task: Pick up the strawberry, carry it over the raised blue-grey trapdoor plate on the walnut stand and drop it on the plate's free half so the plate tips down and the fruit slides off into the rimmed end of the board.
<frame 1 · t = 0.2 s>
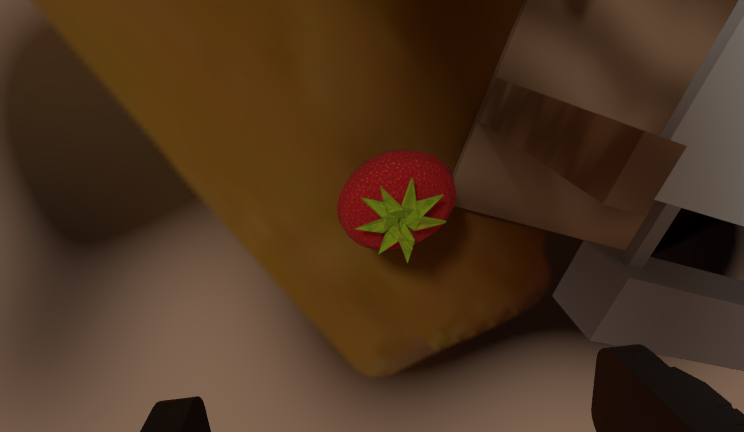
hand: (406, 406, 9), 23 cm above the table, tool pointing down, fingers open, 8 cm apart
strawberry: (383, 170, 32), on the table
stand: (626, 65, 30), on the table
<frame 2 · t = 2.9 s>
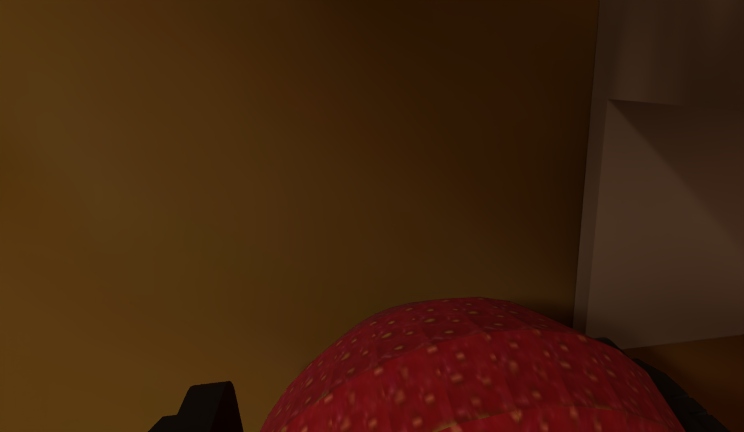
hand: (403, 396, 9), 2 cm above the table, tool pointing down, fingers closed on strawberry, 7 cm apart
strawberry: (388, 326, 12), on the table, touching gripper
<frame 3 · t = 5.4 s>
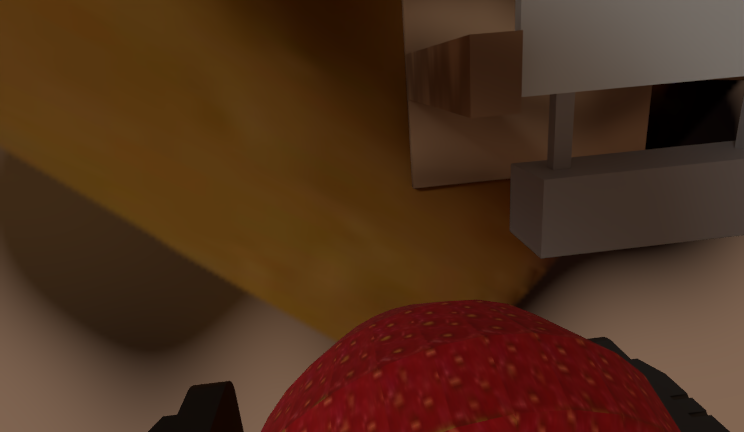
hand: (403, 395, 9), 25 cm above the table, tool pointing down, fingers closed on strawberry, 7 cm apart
strawberry: (387, 327, 12), point 22 cm above the table, touching gripper
trapdoor: (673, 3, 18), point 14 cm above the table, hinge at 0.0°
when the fingers open (19 cm above the table, at t = 7.6 s): strawberry drops 3 cm, resting on stand.
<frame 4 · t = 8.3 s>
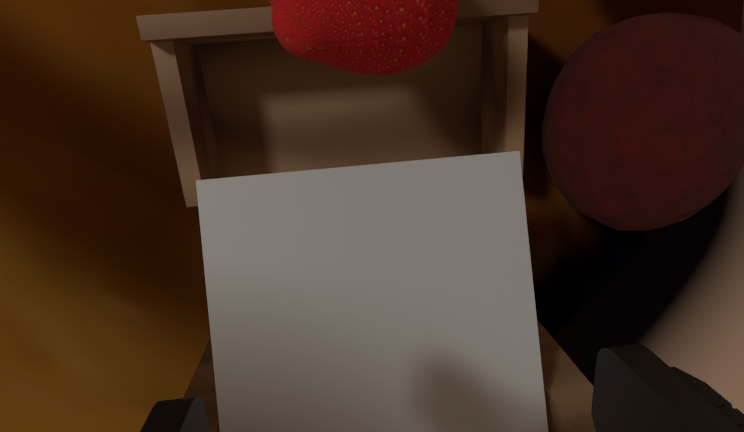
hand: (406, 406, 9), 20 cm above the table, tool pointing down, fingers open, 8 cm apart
strawberry: (287, 42, 13), point 13 cm above the table, touching stand
trapdoor: (385, 409, 18), point 13 cm above the table, hinge at -18.9°
potato 2: (597, 118, 28), on the table
stand: (359, 231, 29), on the table
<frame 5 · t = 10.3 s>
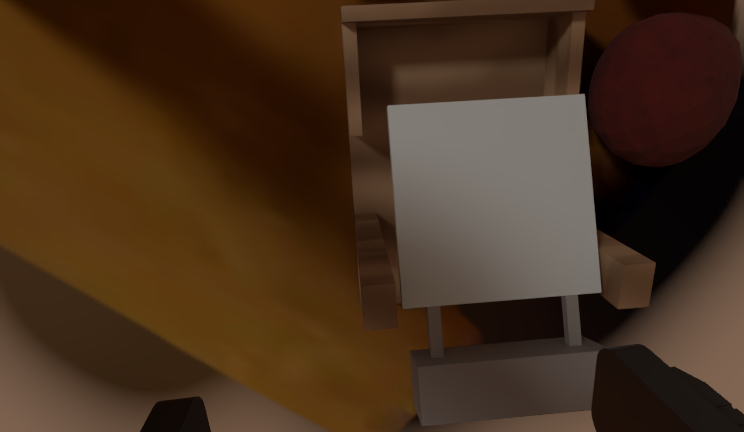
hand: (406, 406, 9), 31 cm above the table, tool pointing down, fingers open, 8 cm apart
trapdoor: (497, 251, 28), point 13 cm above the table, hinge at -18.9°
potato 2: (626, 89, 39), on the table
stand: (450, 168, 39), on the table
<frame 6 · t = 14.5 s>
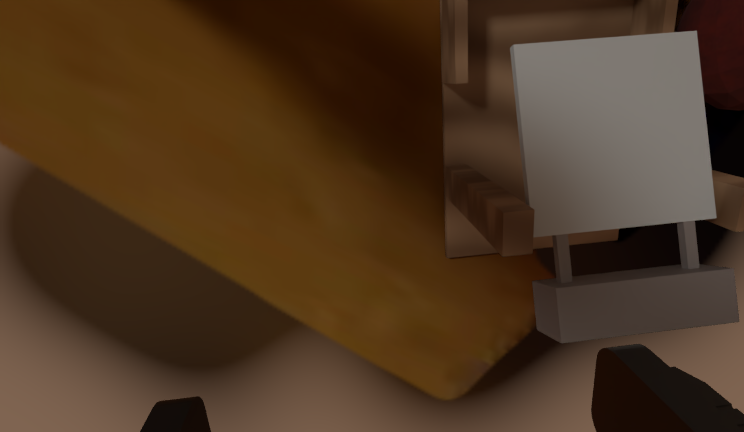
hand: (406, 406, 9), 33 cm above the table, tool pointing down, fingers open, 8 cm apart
trapdoor: (618, 182, 30), point 13 cm above the table, hinge at -18.9°
potato 2: (705, 38, 40), on the table
stand: (536, 119, 41), on the table
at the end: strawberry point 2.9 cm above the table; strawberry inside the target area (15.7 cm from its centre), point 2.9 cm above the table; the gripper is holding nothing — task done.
